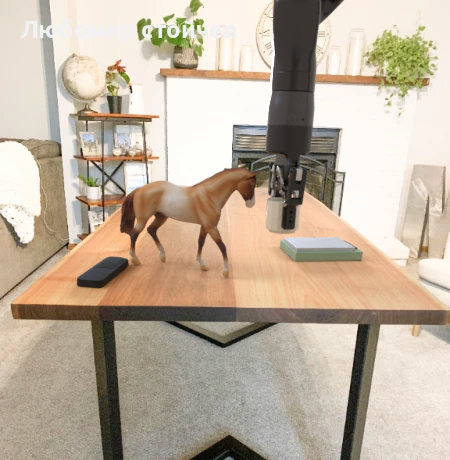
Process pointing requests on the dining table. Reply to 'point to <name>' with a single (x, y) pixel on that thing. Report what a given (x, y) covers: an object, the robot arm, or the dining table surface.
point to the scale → (319, 249)
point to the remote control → (102, 272)
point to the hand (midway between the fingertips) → (282, 224)
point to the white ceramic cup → (278, 216)
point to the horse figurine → (186, 208)
